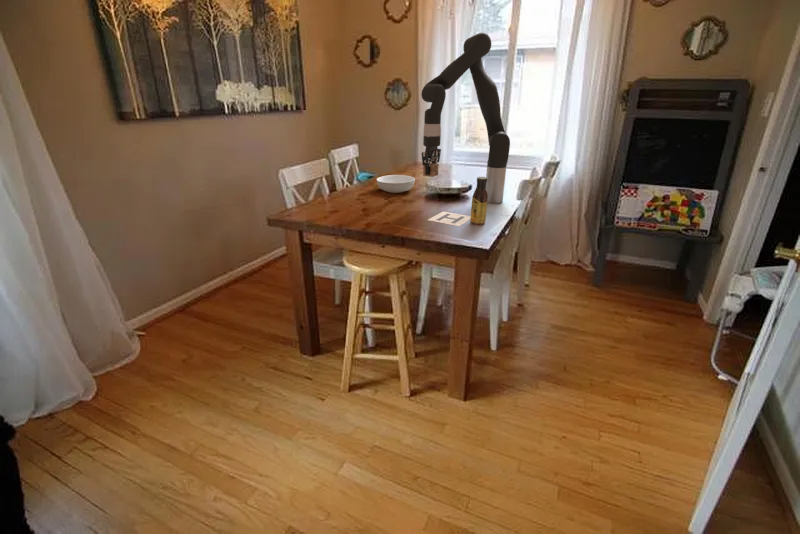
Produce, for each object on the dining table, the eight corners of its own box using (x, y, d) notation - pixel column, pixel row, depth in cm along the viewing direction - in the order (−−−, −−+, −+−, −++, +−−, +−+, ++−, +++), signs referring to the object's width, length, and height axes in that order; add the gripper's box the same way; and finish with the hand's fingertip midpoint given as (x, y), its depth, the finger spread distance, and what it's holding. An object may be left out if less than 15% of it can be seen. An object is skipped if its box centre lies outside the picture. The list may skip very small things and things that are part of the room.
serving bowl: (391, 184, 234) (391, 173, 231) (421, 190, 222) (422, 177, 220) (369, 192, 218) (368, 179, 215) (400, 197, 207) (400, 184, 204)
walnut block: (428, 173, 185) (428, 162, 182) (438, 175, 182) (438, 163, 180) (423, 175, 181) (423, 164, 179) (432, 176, 178) (433, 165, 176)
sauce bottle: (468, 222, 170) (471, 175, 162) (482, 222, 170) (486, 175, 162) (472, 227, 164) (476, 179, 156) (487, 227, 165) (491, 178, 156)
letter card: (443, 212, 183) (443, 211, 183) (473, 218, 175) (473, 216, 175) (427, 221, 171) (427, 219, 171) (459, 227, 164) (459, 226, 164)
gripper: (432, 132, 181) (431, 170, 188) (416, 135, 170) (415, 175, 177) (447, 133, 178) (445, 172, 185) (431, 136, 167) (430, 177, 174)
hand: (430, 173), depth 181 cm, fingers closed on walnut block, 5 cm apart
